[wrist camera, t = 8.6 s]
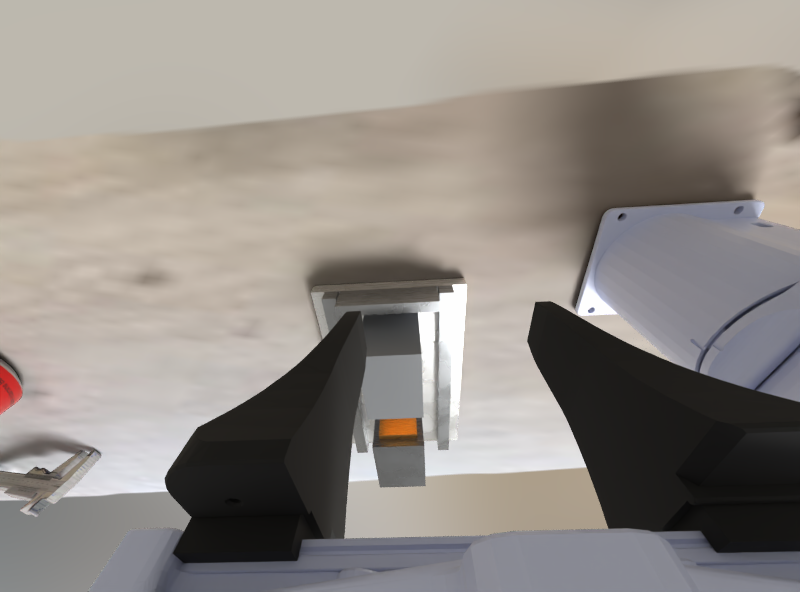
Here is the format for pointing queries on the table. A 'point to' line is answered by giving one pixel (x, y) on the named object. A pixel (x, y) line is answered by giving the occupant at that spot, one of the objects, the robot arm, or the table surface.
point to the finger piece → (393, 367)
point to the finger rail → (441, 368)
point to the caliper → (47, 482)
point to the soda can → (9, 387)
